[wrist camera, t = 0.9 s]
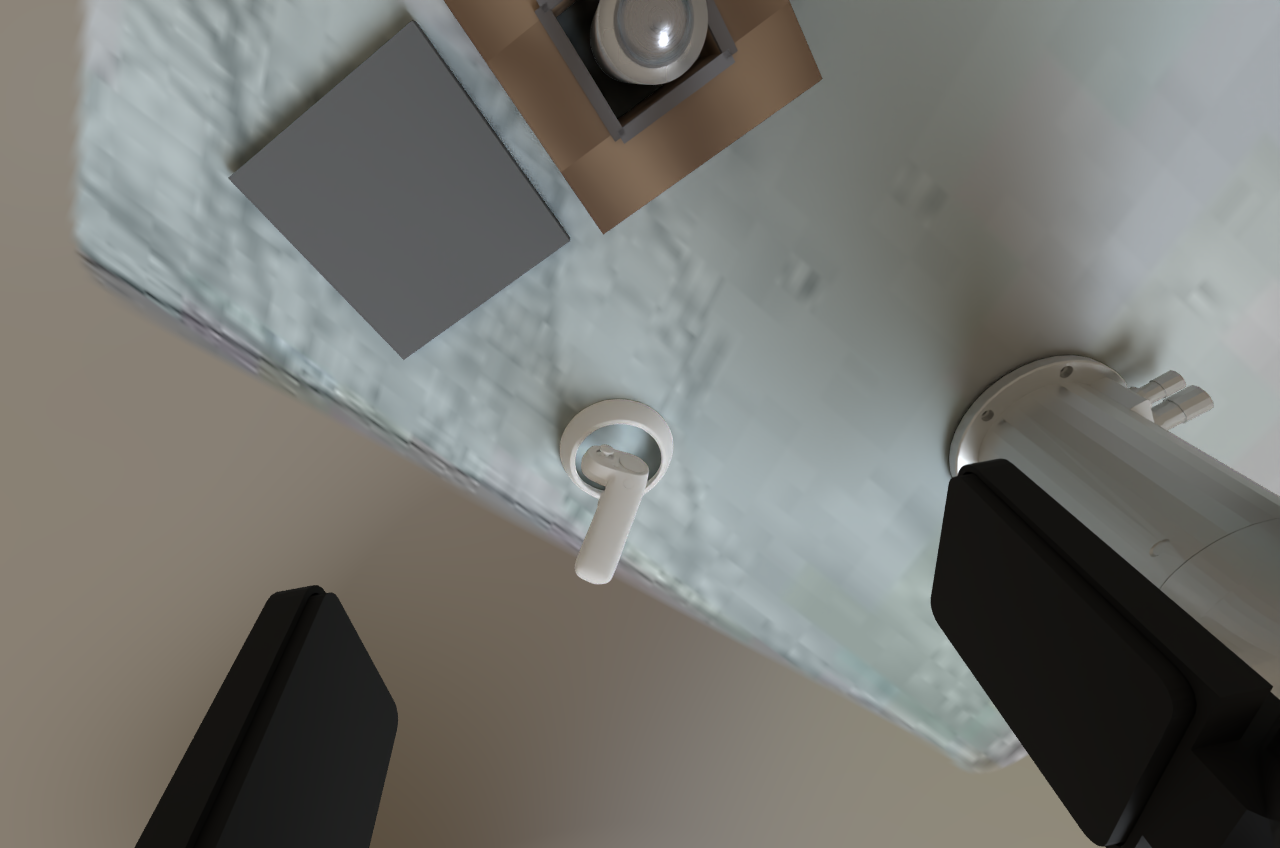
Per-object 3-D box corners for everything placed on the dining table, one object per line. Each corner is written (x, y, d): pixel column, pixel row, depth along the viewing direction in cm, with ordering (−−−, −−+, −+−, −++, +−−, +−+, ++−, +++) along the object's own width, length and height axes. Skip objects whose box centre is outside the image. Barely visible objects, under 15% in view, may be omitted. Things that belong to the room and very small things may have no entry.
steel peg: (640, -28, 29) (678, -85, 19) (682, 51, 30) (736, 38, 20) (573, 24, 29) (576, -3, 19) (618, 99, 31) (642, 109, 21)
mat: (416, 21, 29) (412, 20, 28) (569, 237, 34) (569, 240, 33) (235, 175, 31) (228, 177, 30) (406, 354, 36) (403, 359, 36)
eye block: (667, -194, 26) (687, -247, 22) (790, 78, 31) (825, 79, 27) (448, -7, 28) (427, -22, 24) (599, 216, 34) (603, 236, 29)
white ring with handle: (504, 575, 39) (511, 545, 33) (570, 421, 45) (586, 372, 39) (613, 617, 39) (640, 595, 33) (664, 459, 45) (695, 417, 39)
